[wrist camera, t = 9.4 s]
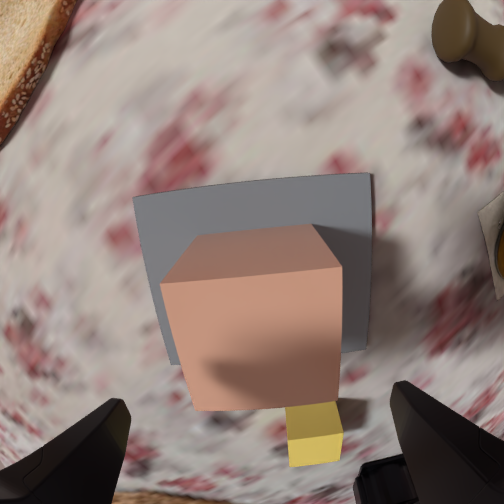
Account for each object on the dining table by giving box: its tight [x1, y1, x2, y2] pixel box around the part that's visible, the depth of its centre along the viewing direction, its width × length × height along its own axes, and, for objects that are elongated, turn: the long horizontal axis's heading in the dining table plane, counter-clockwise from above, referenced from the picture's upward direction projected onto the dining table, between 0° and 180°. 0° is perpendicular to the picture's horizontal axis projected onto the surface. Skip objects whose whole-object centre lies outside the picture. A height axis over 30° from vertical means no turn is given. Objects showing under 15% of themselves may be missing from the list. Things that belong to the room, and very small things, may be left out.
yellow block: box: [285, 401, 344, 467], centre depth 21 cm, size 4×4×4 cm
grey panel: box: [133, 173, 372, 365], centre depth 19 cm, size 14×12×1 cm
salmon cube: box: [160, 224, 342, 411], centre depth 15 cm, size 7×7×7 cm
